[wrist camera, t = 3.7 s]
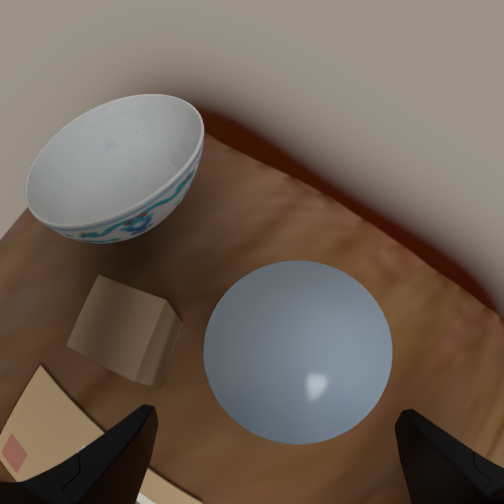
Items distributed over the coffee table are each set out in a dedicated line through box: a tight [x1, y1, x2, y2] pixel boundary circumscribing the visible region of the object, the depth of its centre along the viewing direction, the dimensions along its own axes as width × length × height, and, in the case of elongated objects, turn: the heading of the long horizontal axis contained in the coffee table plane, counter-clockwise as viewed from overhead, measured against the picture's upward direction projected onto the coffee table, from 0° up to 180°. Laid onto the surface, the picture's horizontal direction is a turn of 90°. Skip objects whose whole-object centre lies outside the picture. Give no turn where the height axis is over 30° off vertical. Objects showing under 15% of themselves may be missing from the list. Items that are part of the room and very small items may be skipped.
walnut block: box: [66, 275, 184, 389], centre depth 17 cm, size 5×5×5 cm
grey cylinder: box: [204, 261, 392, 444], centre depth 12 cm, size 5×5×13 cm
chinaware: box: [25, 94, 204, 244], centre depth 22 cm, size 15×15×8 cm
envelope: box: [0, 365, 203, 504], centre depth 13 cm, size 16×12×1 cm
